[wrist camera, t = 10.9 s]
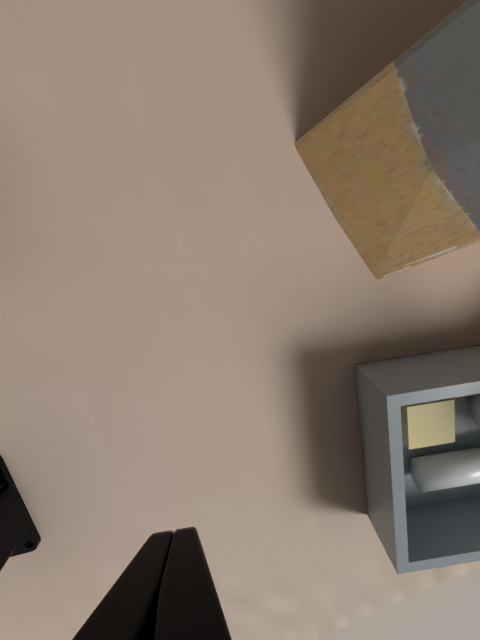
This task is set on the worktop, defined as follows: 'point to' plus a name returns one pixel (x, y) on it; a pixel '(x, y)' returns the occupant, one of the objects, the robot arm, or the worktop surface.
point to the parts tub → (423, 456)
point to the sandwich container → (407, 151)
